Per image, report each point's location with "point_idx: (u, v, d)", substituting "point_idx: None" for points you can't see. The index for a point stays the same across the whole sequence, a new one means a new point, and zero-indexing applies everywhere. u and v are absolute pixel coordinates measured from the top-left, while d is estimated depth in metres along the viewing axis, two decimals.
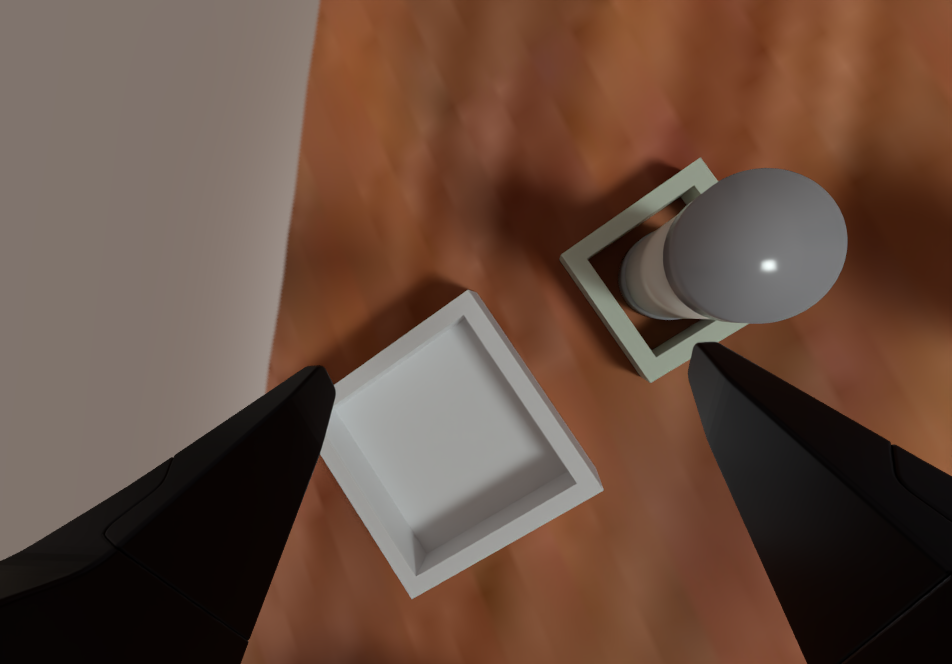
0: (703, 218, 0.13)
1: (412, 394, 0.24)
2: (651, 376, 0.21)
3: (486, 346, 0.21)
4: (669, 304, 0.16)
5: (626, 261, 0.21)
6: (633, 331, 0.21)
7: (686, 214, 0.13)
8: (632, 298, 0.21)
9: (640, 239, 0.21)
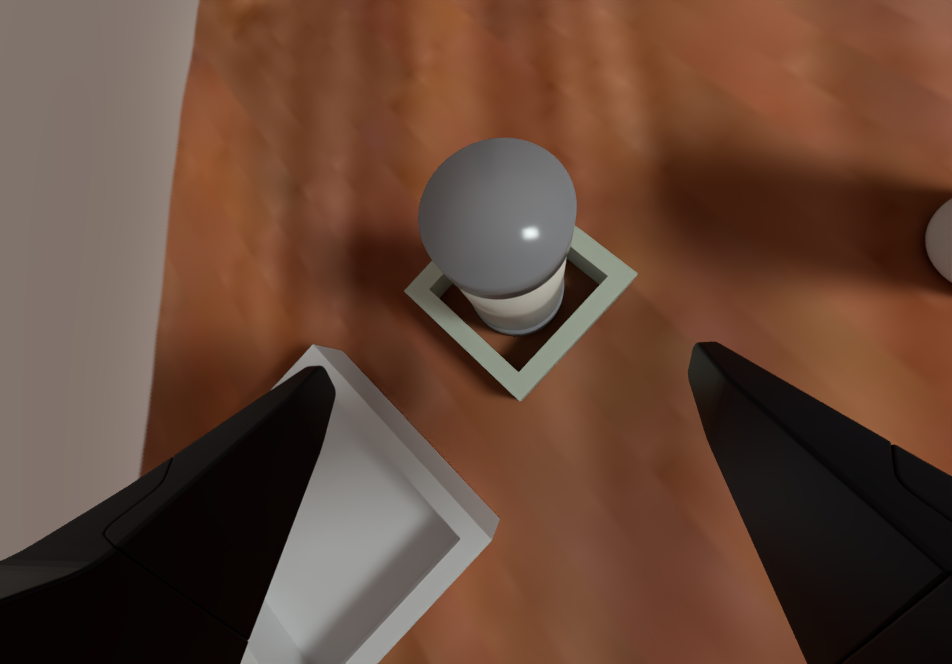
0: (437, 197, 0.12)
1: None
2: (519, 394, 0.19)
3: (339, 399, 0.19)
4: (476, 302, 0.15)
5: None
6: (489, 350, 0.19)
7: (422, 198, 0.13)
8: (483, 318, 0.20)
9: None
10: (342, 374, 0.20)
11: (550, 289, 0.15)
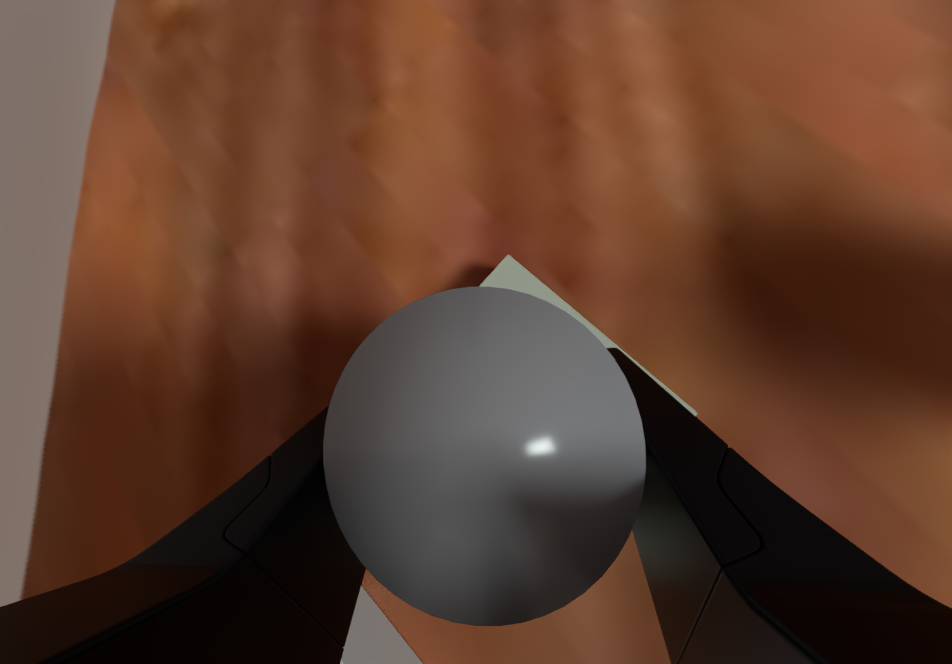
0: (360, 404, 0.06)
1: None
2: None
3: None
4: None
5: None
6: None
7: (332, 400, 0.06)
8: None
9: None
10: None
11: None
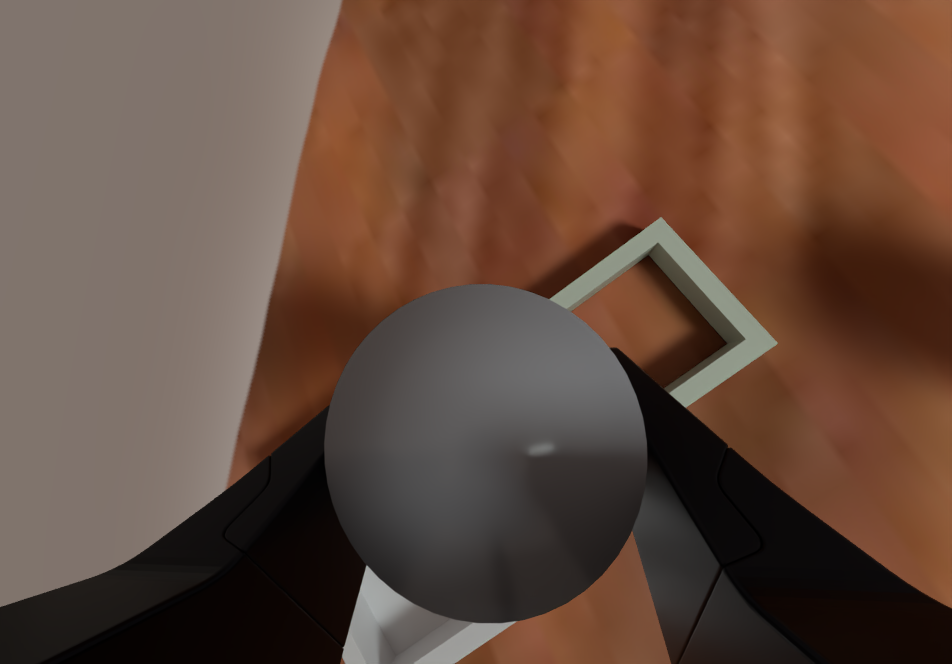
0: (362, 402, 0.06)
1: None
2: None
3: None
4: None
5: None
6: None
7: (334, 398, 0.06)
8: None
9: None
10: None
11: None
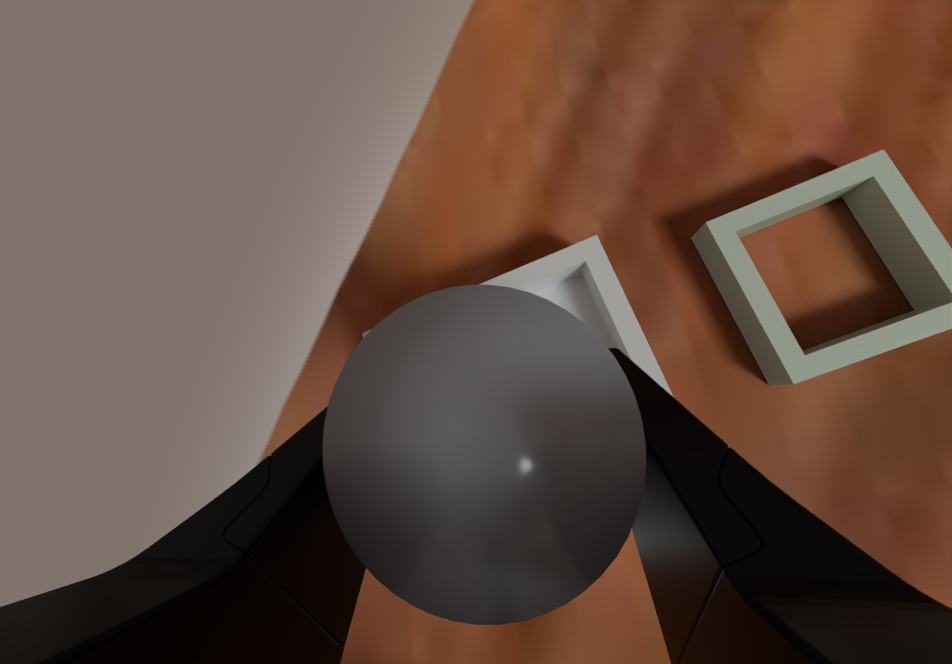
0: (360, 402, 0.06)
1: None
2: (796, 376, 0.17)
3: (605, 300, 0.18)
4: None
5: None
6: (780, 320, 0.18)
7: (332, 399, 0.06)
8: None
9: None
10: (615, 277, 0.19)
11: None
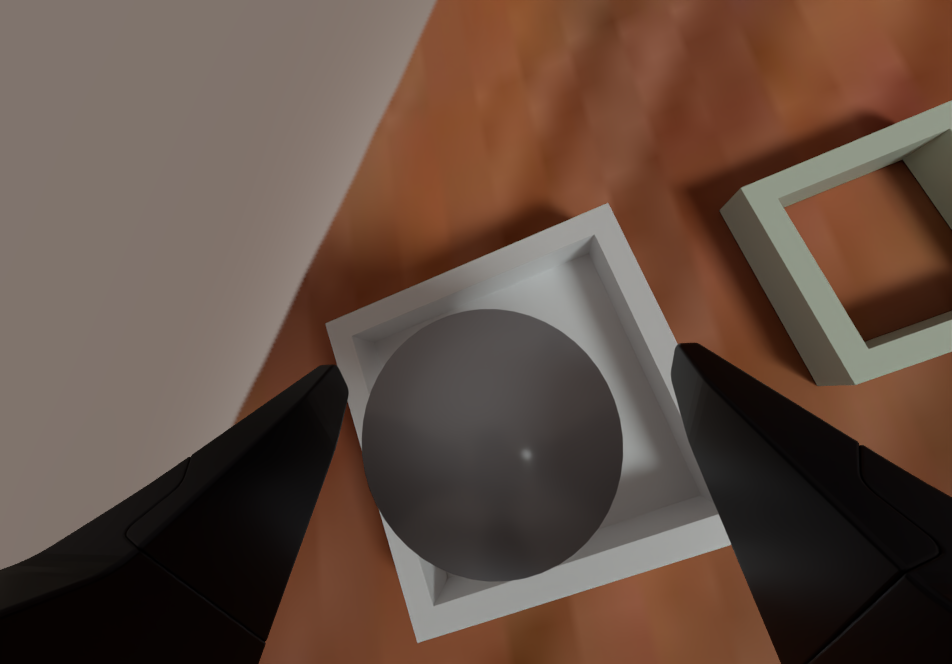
0: (392, 405, 0.08)
1: None
2: (858, 375, 0.14)
3: (619, 281, 0.15)
4: None
5: None
6: (836, 306, 0.14)
7: (368, 402, 0.08)
8: None
9: None
10: None
11: None
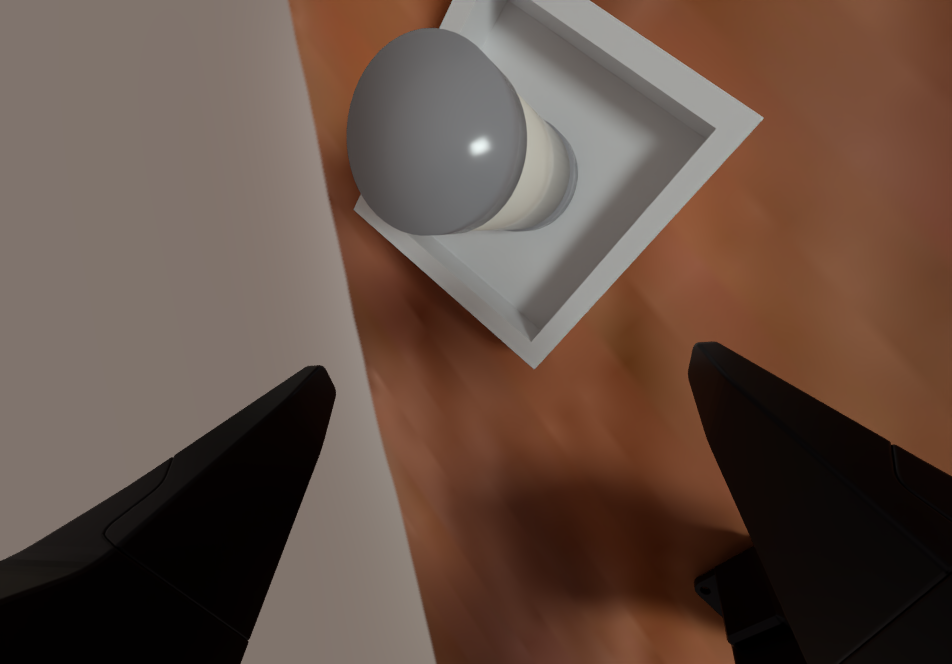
0: (365, 164, 0.11)
1: None
2: None
3: None
4: (477, 230, 0.14)
5: None
6: None
7: (354, 174, 0.11)
8: None
9: None
10: None
11: (538, 170, 0.13)
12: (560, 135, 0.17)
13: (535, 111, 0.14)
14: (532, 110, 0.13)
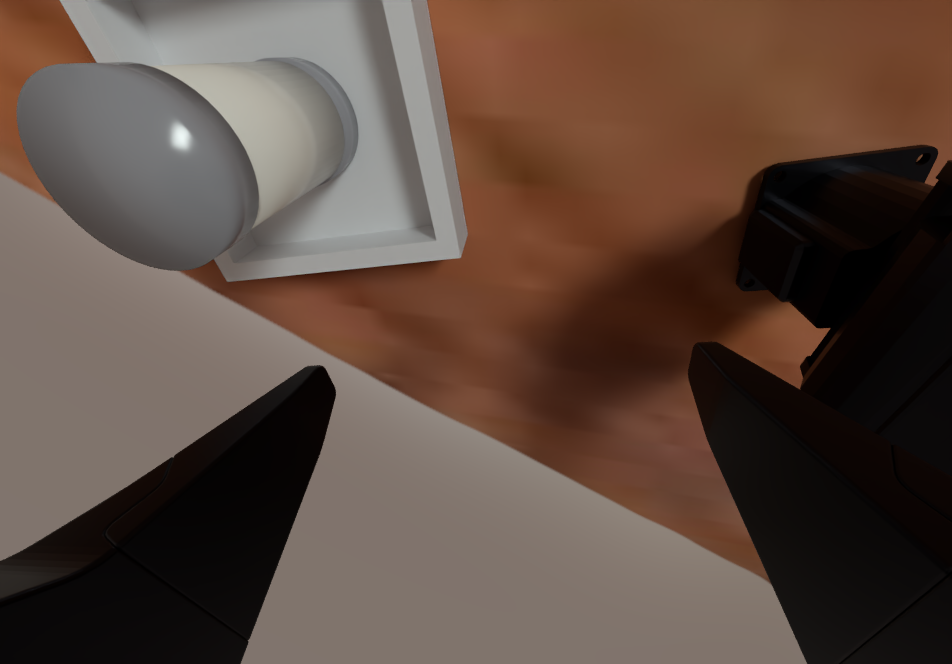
0: (129, 244, 0.11)
1: None
2: None
3: None
4: (282, 203, 0.13)
5: None
6: None
7: (134, 259, 0.11)
8: (329, 177, 0.18)
9: None
10: None
11: (258, 107, 0.12)
12: (277, 59, 0.15)
13: (218, 63, 0.13)
14: (203, 65, 0.12)
